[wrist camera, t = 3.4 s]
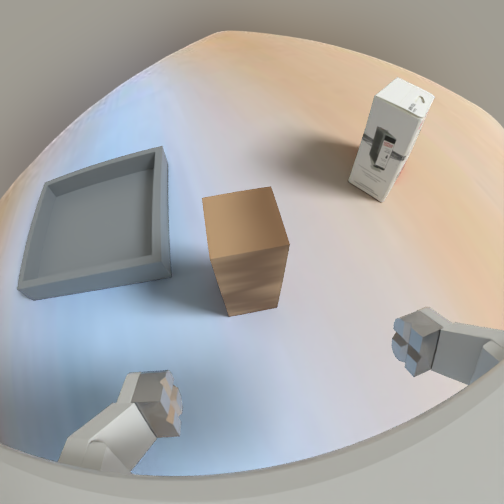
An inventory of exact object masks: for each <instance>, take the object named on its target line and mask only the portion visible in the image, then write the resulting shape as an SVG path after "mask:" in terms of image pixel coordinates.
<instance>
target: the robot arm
mask: <svg viewBox="0 0 504 504" xmlns="http://www.w3.org/2000/svg"><path fill="white" fill-rule="evenodd" d="M393 329H394V330H395V331H396V333H395V335H394V337H393V338H392V350H393V353H394V355H395V357H396V358H397V359H398V360H399V361H402V362H405V368H406V369H407V370H408V371H409V372H410V373H411V375H412V376H413V377H415V376H418V375H420V374H422V373H424V372H426V371H428V370H432V371H434V372H437V373H439V374H442V375H444V376H447V377H449V378H452V379H454V380H457V381H460V382H462V383H465V384H467V385H468V386H467V387H465V388H464V389H462V390H461V391H459V392H458V393H456V394H455V395H453V396H451V397H450V398H448V399H447V400H445V401H443V402H442V403H440V404H438V405H436V406H435V407H433V408H431V409H429V410H428V411H426V412H424V413H422V414H420V415H418V416H416V417H414V418H413V419H411V420H409V421H407V422H405V423H402V424H400V425H398V426H396V427H394V428H392V429H390V430H387V431H385V432H383V433H380V434H378V435H376V436H373V437H371V438H368V439H366V440H363V441H360V442H358V443H355V444H352V445H350V446H347V447H344V448H341V449H338V450H335V451H331V452H328V453H325V454H322V455H318V456H315V457H311V458H307V459H303V460H299V461H295V462H291V463H286V464H282V465H277V466H272V467H266V468H261V469H255V470H248V471H241V472H233V473H224V474H212V475H196V476H150V475H134V474H132V473H131V470H132V469H133V468H134V467H135V465H136V464H137V463H138V462H139V461H140V459H141V458H142V457H143V456H144V454H145V453H146V452H147V451H148V449H149V448H150V447H151V446H152V444H153V443H154V442H155V441H156V439H157V438H161V437H177V436H180V430H181V421H180V419H179V416H180V415H181V413H182V409H183V405H182V398H181V394H180V392H179V389H178V388H177V387H176V386H174V385H173V382H174V378H173V376H172V374H171V372H170V371H169V370H162V371H148V372H133V373H129V374H127V376H126V378H125V381H124V384H123V386H122V389H121V392H120V394H119V397H118V400H117V402H116V403H112V404H111V405H109V406H108V407H107V408H106V409H104V410H103V411H102V412H100V413H99V414H98V415H97V416H95V417H94V418H93V419H91V420H90V421H89V422H87V423H86V424H85V425H83V426H82V427H81V428H80V429H78V430H77V431H76V432H74V433H73V434H72V435H70V436H69V437H68V438H67V441H66V443H65V445H64V448H63V450H62V453H61V455H60V458H59V460H58V462H55V461H52V460H48V459H44V458H41V457H37V456H34V455H31V454H28V453H25V452H22V451H19V450H16V449H14V448H11V447H8V446H6V445H3V444H1V443H0V504H504V331H503V330H498V329H491V328H485V327H479V326H474V325H468V324H462V323H456V322H455V323H451V322H450V321H449V320H447V319H446V318H444V317H443V316H441V315H440V314H439V313H437V312H436V311H434V310H433V309H431V308H430V307H424V308H422V309H419V310H417V311H416V312H413V313H411V314H408V315H405V316H402V317H400V318H397V319H396V320H395V322H394V328H393Z"/></svg>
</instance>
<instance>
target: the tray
mask: <svg viewBox="0 0 504 504" xmlns="http://www.w3.org/2000/svg"><path fill="white" fill-rule="evenodd" d="M169 277H171V262H170V243H169V215H168V162H167V159H166V156H165V153H164V149H163V146H160V147H156V148H152V149H148V150H144V151H140V152H136V153H132V154H129V155H125V156H122V157H118V158H115V159H111V160H108V161H105V162H102V163H98V164H95V165H92V166H89V167H86V168H83V169H80V170H77V171H75V172H72V173H69V174H66V175H64V176H61V177H58V178H56V179H53V180H51V181H48V182H46V183H45V184H44V187H43V189H42V192H41V195H40V198H39V201H38V204H37V207H36V210H35V213H34V217H33V220H32V223H31V227H30V230H29V234H28V238H27V242H26V246H25V251H24V255H23V260H22V265H21V270H20V275H19V281H18V287H17V290H19V291H20V292H22V293H23V294H25V295H26V296H28V297H29V298H31V299H32V300H40V299H46V298H52V297H58V296H64V295H70V294H76V293H82V292H88V291H94V290H100V289H106V288H112V287H118V286H123V285H129V284H135V283H141V282H146V281H152V280H158V279H163V278H169Z"/></svg>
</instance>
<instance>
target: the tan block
mask: <svg viewBox="0 0 504 504" xmlns="http://www.w3.org/2000/svg"><path fill="white" fill-rule="evenodd" d="M202 202H203V210H204V218H205V226H206V234H207V241H208V249H209V256H210V261H211V264H212V267H213V270H214V273H215V276H216V279H217V282H218V285H219V288H220V291H221V294H222V297H223V300H224V303H225V306H226V309H227V312H228V315H229V317H231V316H236V315H242V314H247V313H252V312H257V311H262V310H267V309H272V308H277V306H278V301H279V296H280V291H281V287H282V282H283V277H284V272H285V267H286V261H287V256H288V251H289V246H290V244H289V241H288V237H287V234H286V231H285V228H284V225H283V222H282V219H281V215H280V212H279V209H278V206H277V203H276V200H275V197H274V194H273V191H272V188H271V187H264V188H257V189H251V190H245V191H239V192H233V193H227V194H221V195H216V196H210V197H205V198H202Z"/></svg>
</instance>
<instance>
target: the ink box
mask: <svg viewBox="0 0 504 504" xmlns="http://www.w3.org/2000/svg"><path fill="white" fill-rule="evenodd" d="M434 98H435V96H434V95H432V94H431V93H429V92H427V91H425V90H423V89H421V88H419V87H417V86H415V85H413V84H411V83H409V82H407V81H404V80H402V79H400V78H398V77H397V78H396V79H394V80H393V81H392V82H391V83H390V84H388V85H387V86H386V87H385V88H384V89H382V90H381V91H380V92H379V93H378V94H376V95H375V96H374V100H373V103H372V107H371V110H370V114H369V117H368V121H367V124H366V128H365V131H364V134H363V137H362V141H361V144H360V147H359V150H358V153H357V156H356V159H355V162H354V165H353V168H352V171H351V174H350V177H349V180H348V181H349V182H350V183H352V184H353V185H355V186H356V187H358V188H360V189H361V190H363V191H365V192H366V193H368V194H369V195H371V196H372V197H374V198H375V199H377V200H378V201H380V202H384V200H385V199H386V197H387V195H388V194H389V192H390V190H391V189H392V187H393V185H394V183H395V181H396V180H397V178H398V176H399V174H400V173H401V171H402V169H403V167H404V165H405V163H406V161H407V159H408V157H409V155H410V153H411V150H412V148H413V146H414V144H415V141H416V139H417V137H418V135H419V132H420V130H421V128H422V125H423V123H424V121H425V118H426V116H427V113H428V111H429V108H430V106H431V103H432V102H433V99H434Z"/></svg>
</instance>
